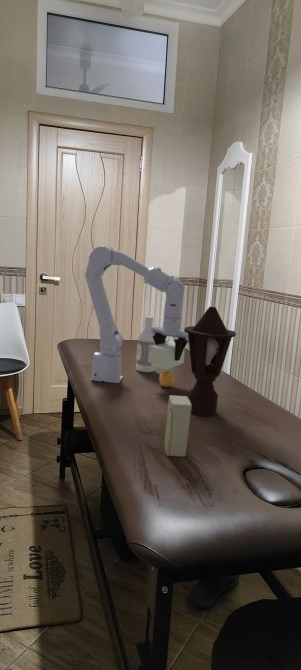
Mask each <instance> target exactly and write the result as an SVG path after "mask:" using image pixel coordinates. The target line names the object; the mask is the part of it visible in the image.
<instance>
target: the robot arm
mask: <svg viewBox="0 0 301 670" xmlns="http://www.w3.org/2000/svg"><path fill="white" fill-rule="evenodd" d="M111 266H123V267H125V268H126V269H129V270H130V271H133V272H134V273H136V274H138V275H140V276H141V277H143V278H144V282H145V284H148V285H149V286H151V287H152V288H154V289H156V290H158V291H159V292H161V293H165V295H166V297H165V301H164V310H163V322H162V327H157V326H152V327H151V333H153V334H154V333H155V335H153V339H154V341H155V344H156V345H159V344H162V343H165V342H166V341H167V340H166V339H167V338H168V337H170V338H174V342H175V360H176V361H178V360H180V358H181V355H182V352H183V350H184V348H185V347H186V346H187V345H188V344H189V338H188V333H186V332H184V331H182V330H181V326H182V325H181V324H182V314H183V301H184V299H183V295H184V293H185V285H184V284H183V283H182V281H180V279H177V278H175V276H174V275H171V276H170V275H169V274H168V273H165V272H163V271H162V268H161V267H160V266H158V267H155V266H152V267H149V268H148V267H147V266H145V265H144V264H142V263H140V262H139V261H137V260H136V259H134V258H133V257H131V256H129V255H128V254H127V253H124V252H122V251H119V250H118V249H114V248H113V247H111V246H104V245H99V246H96V247H95V248H94V249H93V250H92V251H91V253H90V254H89V256H88V262H87V266H86V269H85V270H86V271H85V274H84V275H85V280H86V284H87V288H88V291H89V295H90V299H91V301H92V305H93V309H94V312H95V315H96V319H97V323H98V326H99V338H100V342H99V348H100V352H96V351H95V352H94V354H93V357H92V364H91V365H92V367H91V379H90V380H91V381H93V380H94V382H102V381H104V383H111V384H112V383H113V384H121V383H120V382H121V381H122V379H123V377H124V376H123V375H121V372H122V357H123V352H122V351H121V348H122V346H123V345H124V338H123V336H122V334H121V333H120V332H119V330H118V327H117V325H116V324H115V321H114V318H113V315H112V314H113V313H112V309H111V308H110V302H109V299H108V296H107V293H106V289H105V285H104V282H103V278H102V277H103V275H104V274H105V272H106V271H107V269H108V268H109V267H111ZM185 349H186V348H185Z"/></svg>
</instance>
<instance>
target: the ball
mask: <svg viewBox="0 0 301 670" xmlns="http://www.w3.org/2000/svg"><path fill="white" fill-rule="evenodd" d="M158 381H159V384H160V385H161V386H163V387H165V388H169V387H171V386H172V385H174V382H175V376H174V374H173V373H172V372H170V371H163V372H162V373H161V374H160V375H159V378H158Z"/></svg>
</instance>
